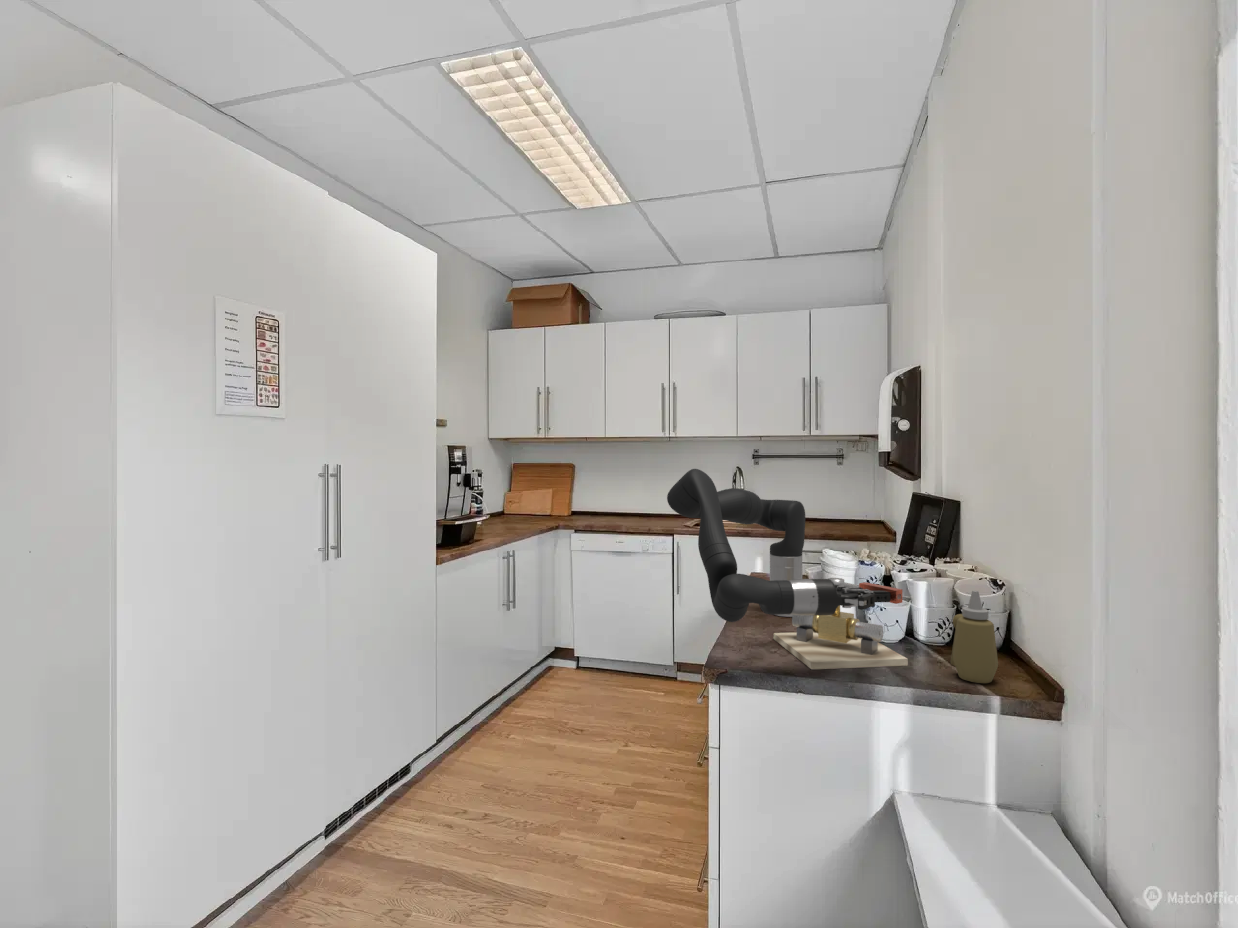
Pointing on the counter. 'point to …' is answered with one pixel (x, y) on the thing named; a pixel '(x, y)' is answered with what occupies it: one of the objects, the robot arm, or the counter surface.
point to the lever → (873, 589)
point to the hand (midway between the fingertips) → (888, 596)
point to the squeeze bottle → (975, 643)
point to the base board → (837, 653)
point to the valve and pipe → (839, 629)
